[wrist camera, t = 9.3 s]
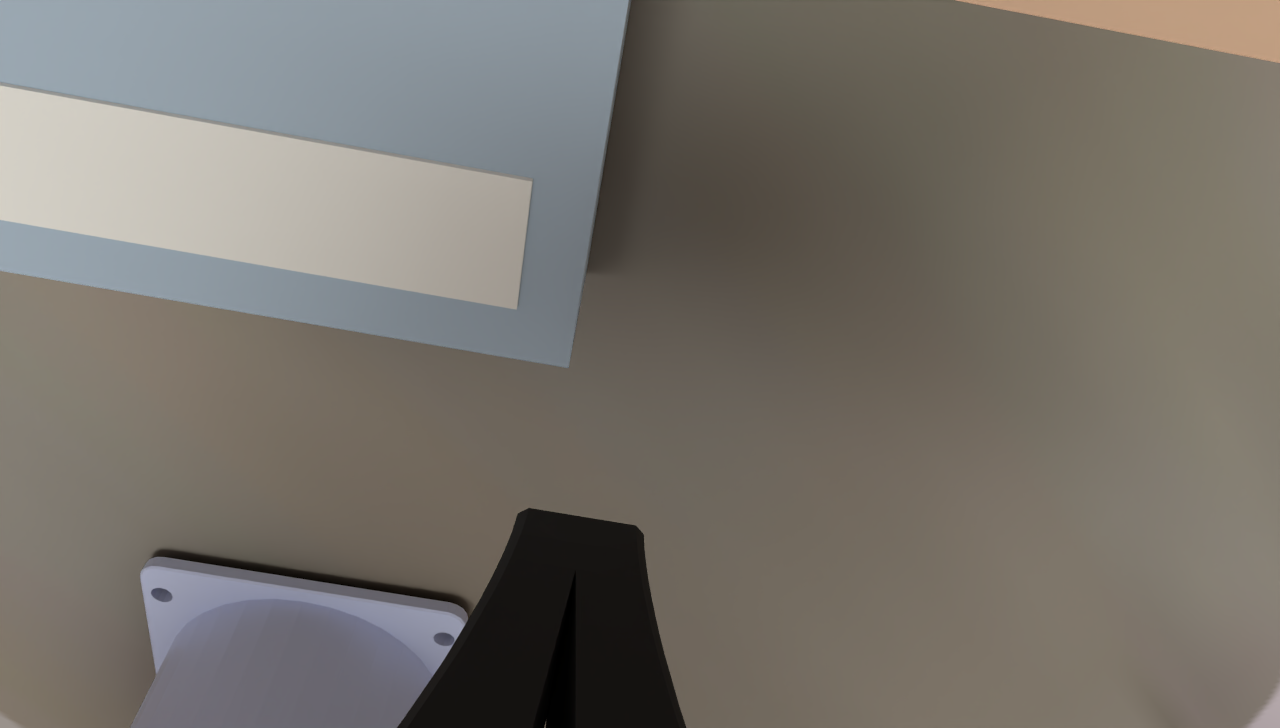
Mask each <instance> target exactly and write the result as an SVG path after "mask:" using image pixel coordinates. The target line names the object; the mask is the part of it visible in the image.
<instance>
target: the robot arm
mask: <svg viewBox="0 0 1280 728" xmlns="http://www.w3.org/2000/svg"><path fill="white" fill-rule="evenodd" d="M140 580H141V586H142V592H143V598H144V604H145V610H146V616H147V622H148V628H149V634H150V640H151V646H152V653H153V659H154V665H155V671H156V677H155V679H154V681H153V683H152V685H151V687H150V689H149V691H148V693H147V695H146V697H145V699H144V701H143V703H142V705H141V707H140V709H139V711H138V713H137V715H136V717H135V719H134V721H133V723H132V725H131V727H130V728H544V726H545V722H546V728H686V726H685V722H684V719H683V716H682V713H681V710H680V707H679V704H678V700H677V697H676V693H675V690H674V686H673V683H672V679H671V676H670V672H669V669H668V665H667V662H666V658H665V655H664V651H663V647H662V643H661V639H660V635H659V631H658V626H657V621H656V617H655V612H654V607H653V603H652V598H651V592H650V587H649V581H648V574H647V568H646V559H645V550H644V535H643V533H642V532H641V531H640V530H639V529H638V527H637V526H635V525H629V524H623V523H617V522H610V521H604V520H598V519H592V518H586V517H580V516H574V515H568V514H562V513H556V512H550V511H543V510H537V509H531V508H528V509H526V510H524V511H522V512H520V513H518V515H517V518H516V521H515V525H514V528H513V531H512V534H511V536H510V539H509V541H508V543H507V546H506V548H505V551H504V553H503V555H502V557H501V560H500V562H499V564H498V566H497V568H496V570H495V572H494V574H493V576H492V578H491V580H490V582H489V584H488V585H487V587H486V589H485V591H484V593H483V595H482V597H481V599H480V601H479V602H478V604H477V606H476V608H475V609H474V611H473V613H472V614H471V616H470V618H469V619H468V616H467V613H466V612H465V610H464V609H463V608H462V607H460V606H458V605H457V604H454V603H450V602H445V601H439V600H432V599H426V598H420V597H413V596H407V595H401V594H395V593H388V592H382V591H376V590H369V589H363V588H357V587H350V586H344V585H338V584H332V583H325V582H319V581H313V580H306V579H300V578H294V577H287V576H281V575H275V574H269V573H262V572H256V571H250V570H243V569H237V568H231V567H224V566H218V565H212V564H206V563H199V562H193V561H187V560H180V559H174V558H168V557H154V558H151V559H149V560H148V561H147V562H146V563H145V565H144V567H143V569H142V571H141V574H140Z"/></svg>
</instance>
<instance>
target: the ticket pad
mask: <svg viewBox="0 0 1280 728" xmlns="http://www.w3.org/2000/svg"><path fill="white" fill-rule="evenodd" d="M630 5H631V0H0V271H5V272H11V273H16V274H22V275H28V276H34V277H40V278H46V279H51V280H57V281H63V282H69V283H75V284H81V285H86V286H92V287H98V288H104V289H110V290H116V291H121V292H127V293H133V294H139V295H145V296H151V297H156V298H162V299H168V300H174V301H180V302H186V303H191V304H197V305H203V306H209V307H215V308H221V309H226V310H232V311H238V312H244V313H250V314H256V315H261V316H267V317H273V318H279V319H285V320H291V321H296V322H302V323H308V324H314V325H320V326H326V327H331V328H337V329H343V330H349V331H355V332H361V333H366V334H372V335H378V336H384V337H390V338H396V339H401V340H407V341H413V342H419V343H425V344H431V345H436V346H442V347H448V348H454V349H460V350H466V351H471V352H477V353H483V354H489V355H495V356H501V357H506V358H512V359H518V360H524V361H530V362H536V363H541V364H547V365H553V366H559V367H565V368H569V363H570V358H571V352H572V347H573V342H574V336H575V331H576V325H577V320H578V315H579V309H580V304H581V299H582V293H583V288H584V282H585V277H586V271H587V265H588V259H589V253H590V247H591V241H592V235H593V229H594V223H595V217H596V211H597V205H598V199H599V193H600V187H601V181H602V175H603V169H604V163H605V156H606V150H607V144H608V138H609V132H610V126H611V120H612V114H613V108H614V102H615V96H616V90H617V84H618V78H619V72H620V66H621V60H622V54H623V48H624V42H625V36H626V30H627V23H628V17H629V11H630Z"/></svg>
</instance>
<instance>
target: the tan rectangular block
mask: <svg viewBox="0 0 1280 728" xmlns="http://www.w3.org/2000/svg"><path fill="white" fill-rule="evenodd" d="M957 1H962V2H967V3H972V4H977V5H983V6H988V7H993V8H998V9H1003V10H1009V11H1014V12H1019V13H1024V14H1029V15H1034V16H1040V17H1045V18H1050V19H1055V20H1060V21H1065V22H1071V23H1076V24H1081V25H1086V26H1091V27H1096V28H1102V29H1107V30H1112V31H1117V32H1122V33H1127V34H1133V35H1138V36H1143V37H1148V38H1153V39H1158V40H1164V41H1169V42H1174V43H1179V44H1184V45H1189V46H1195V47H1200V48H1205V49H1210V50H1215V51H1220V52H1226V53H1231V54H1236V55H1241V56H1246V57H1251V58H1257V59H1262V60H1267V61H1272V62H1277V63H1280V0H957Z"/></svg>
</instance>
